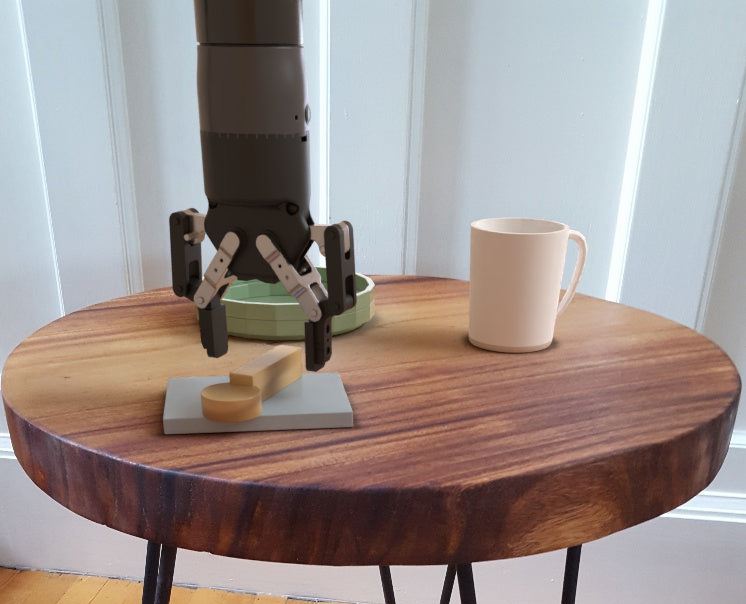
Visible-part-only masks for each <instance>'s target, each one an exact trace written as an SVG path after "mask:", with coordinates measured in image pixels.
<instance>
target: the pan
mask: <svg viewBox="0 0 746 604" xmlns="http://www.w3.org/2000/svg"><path fill="white" fill-rule="evenodd" d="M314 266H315V268H316V269H317V271H318V273H319V274H320V277H321V283H322V285H323V286H324V288H325V290H326V291H327V293H328V290H327V275H326V266H321V265H314ZM296 272H297V271H296ZM355 275H356V294H357V303H356V305H355V306H354V307H353V308H351V309H349V310H347V311H345V312H344V313H342V314H341V315H335V316H333V317H332V337H333V336H337V335H342V334H345V333H349V332H351V331H354V330H357V329H358V328H360V327H361V326H362V325H364V324H365V323H367V322H370V321H371V320H372V319H373V317H374V315H375V311H376V310H375V306H376V303H375V302H376V301H375V300H376V284H375V283H374V281H373V279H372V278H371V277H369V276H366V275H364V274H362V273H360V272H357V271H355ZM203 280H204V275H202V281H203ZM220 302H221V304H225V307H226V321H227V335H228V336H232V337H238V338H245V339H251V340H263V341H299V340H301V341H302V340H305V327H304V322H305V321H307V320H309V318H308V317H307V315H306V314H305V312H304V311H303V309H302V308H301V306H300V304H299V303H298V301H297V300H296V298H295V297H293V296H291V295H290V294H289V293H288V292H287V290H286V289H285V287H284V286H283V284H282V283H281V282H278V283H276V284H269V283H264V282H262V281H259V280H257V279H254V280H249V281H241V280H237V279H236V280H235V281H234V282H233V283H232V284H231V286H230V287H229V289H228V291H227V292H226V294H225V295H224V297H223V299H222V300H221V301H220ZM194 311H195V312H194V313H195V319H196V320H198V321H199V314H198V308H197V306H196V304H195V303H194Z"/></svg>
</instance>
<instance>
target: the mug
mask: <svg viewBox="0 0 746 604" xmlns="http://www.w3.org/2000/svg"><path fill="white" fill-rule="evenodd" d="M469 233H470V236H469V237H470V241H469V243H470V244H469V290H468V291H469V292H468V293H469V295H468V340H469V342H470V343H471V344H472V345H473V346H475V347H477V348H480V349H483V350H487V351H492V352H498V353H499V352H500V353H512V354H513V353H514V354H515V353H517V354H518V353H519V354H522V353H532V352H533V353H534V352H538V351H542V350H545V349H547V348H549V347H550V345H551V344H552V342H553V338H554V331H555V325H556V319H558V318H559V317H560V316H561V315H562V314H563V313H564V312H565V311H566V310H567V308H568V307H569V304H570V303H571V301H572V300H573V298H574V296H575V294H576V291H577V289H578V287H579V284H580V282H581V278H582V277H583V272H584V269H585V267H586V262H587V258H588V257H587V255H588V251H589V250H588V245H587V240H586V239H587V238H586V237H585V236H584V235H583V234H582V233H581V232H580V231H579V230H578V231H577V230H574V229H571V227H570V226H569V225H568V224H566V223H564V222H560V221H557V220H549V219H543V218H535V217H534V218H532V217H490V218H483V219H478V220H474V221H473V222H471V223H470V232H469ZM569 240H571V241H573V242H574V243H575V244H576V246H577V258H576V263H575V266H574V270H573V273H572V276H571V280H570V281H569V284H568V287H567V289H566V291H565V294H564V295H563V297H562V299H561V300H560V302H559V298H560V294H561V288H562V281H563V276H564V269H565V262H566V257H567V250H568V242H569Z"/></svg>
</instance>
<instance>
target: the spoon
mask: <svg viewBox="0 0 746 604" xmlns="http://www.w3.org/2000/svg"><path fill="white" fill-rule="evenodd" d="M302 374H303V357H302V347H300V346H292V345H284V344H279V345H277V346H275V347H273V348H271V349H270V350H268V351H265V352H264V353H262V354H260V355H259V356H257V357H255V358H253V359H252V360H250V361H248V362H246V363H244V364H243V365H241V366H239V367H237V368H236V369H233V370H232V371H229V373H228V376H229V377H230V382H228V383H219V384H214V385H210V386H208V387H205V388H204V389H202V391H201V404H202V414H203V416H204V417H205V418H207V419H209V420H212V421H217V422H242V421H248V420H251V419H254V418H256V417H258V416H260V415H261V413H262V402H264V401H265V400H267V399H268V398H270V397H271V396H273V395H274V394H276V393H278V392H279V391H281V390H282V389H284V388H285V387H287V386H289V385H290V384H292V383H293V382H295V381H296V380H298V379H299V378H301V377H302Z"/></svg>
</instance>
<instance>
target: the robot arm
mask: <svg viewBox="0 0 746 604" xmlns="http://www.w3.org/2000/svg"><path fill="white" fill-rule="evenodd" d="M192 2H193V13H194V14H193V15H194V23H195V24H194V26H195V39H196V40H195V41H196V44H197V45H196V53H197V54H196V75H195V77H196V78H195V79H196V81H195V82H196V83H195V85H196V100H197V101H196V102H197V115H198V124H199V125H198V127H199V139H200V151H201V153H200V154H201V165H202V166H201V167H202V177H203V178H202V179H203V191H204V194H205V197H206V199H207V204H208V205H207V211H206V213H200V212H199V211H198V209H196V208H194V207H190V208H186V209H182V210H178V211H174V212H172V213H171V214H170V215H169V217H168V226H169V243H170V264H171V265H170V266H171V284H172V285H171V287H172V291H173V293H174V295H175V296H176V297H178V298H185V299H187V300H190V301H191V302H193V303H194V305H195V304H196V306H197V308H198V314H199V320H198V326H199V334H200V343H201V347H202V348H203V350H206V355H207V357H209V358H213V359H219V358H221V357H223V356H224V355H226V354H228V352H229V335H228V334H227V321H226V307H225V304H221V302H220V301H221V300H222V299H223V297H224V295H225V294H226V292H227V291H228V289H229V287H230V286H231V284H232V283H233V282H234V281H235V280H236V279H237V280H241V281H249V280H254V279H257V280H259V281H262V282H264V283H269V284H276V283H278V282H281V283H282V284H283V286H284V287H285V289H286V290H287V292H288V293H289V294H290V295H291V296H293V297H295V298H296V300H297V301H298V303H299V304H300V306H301V308H302V309H303V311H304V312H305V314H306V315H307V317H308V318H309V320H307V321H305V322H304V327H305V339H304V358H305V360H304V361H305V362H304V363H305V370H306V371H307V372H312V373H318V372H319V371H321V370H322V369H323V368H325V366H326V363H327V362H329V361H330V360H331V357H332V355H333V341H332V340H333V336H332V317H333V316H335V315H341V314H342V313H344V312H345V311H347V310H349V309H351V308H353V307H354V306H355V305H356V303H357V294H356V275H355V272H356V259H355V239H354V236H355V235H354V227H353V224H352V223H351V222H350V221H348V220H342V221H337V222H335V223H315V220H314V218H313V216H312V214H311V207H310V206H311V205H310V204H311V198H312V197H311V196H312V185H311V184H312V183H311V181H312V180H311V136H310V134H311V133H310V122H311V118H312V117H311V116H312V115H311V113H312V112H311V106H310V101H309V99H310V94H309V93H310V92H309V81H308V72H307V67H306V59H305V58H306V57H305V48H304V46H303V45H304V12H303V11H304V9H303V0H193V1H192ZM206 236H207V238H208V239H209V241H210V242H211V244H212V245H213V247H214V249H215V251H216V253H215V255H214V256H213V258H212V259H211V261H210V263H209V265H208V267H207V268H206V270H205V272H204V274H203V262H202V261H203V259H202V258H203V257H202V242H204V241H205V237H206ZM314 242H315V243H316V244H317V246H318V251H319V253H320V255H321V256H322V257H324V258H325V259H324V260H325V267H326V275H327V290H328V293H327V291H326V290H325V288H324V286H323V285H322V283H321V277H320V274H319V273H318V271H317V269H316V268H315V266H316V265H315V264H313V262H312V260H311V258H310V257H309V255H308V252H309V251H310V250H311V247H312V245H314ZM296 271H297V272H296ZM202 276H204V280H203V281H202Z"/></svg>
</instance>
